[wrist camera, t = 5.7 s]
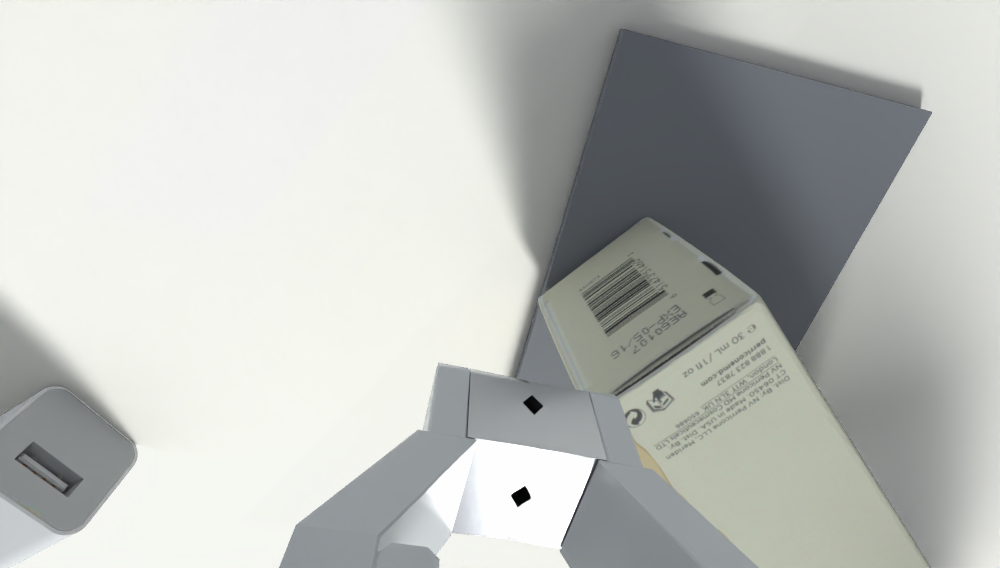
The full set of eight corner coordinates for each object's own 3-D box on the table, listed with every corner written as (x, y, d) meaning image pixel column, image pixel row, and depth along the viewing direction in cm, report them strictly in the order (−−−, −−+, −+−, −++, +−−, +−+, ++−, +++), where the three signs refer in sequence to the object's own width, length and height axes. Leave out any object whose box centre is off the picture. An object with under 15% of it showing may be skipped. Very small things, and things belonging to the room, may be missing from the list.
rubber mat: (511, 389, 19) (512, 396, 19) (620, 29, 14) (624, 29, 13) (740, 429, 20) (745, 437, 20) (921, 109, 15) (932, 112, 14)
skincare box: (580, 413, 11) (815, 680, 15) (770, 284, 10) (959, 602, 14) (532, 293, 16) (711, 511, 21) (650, 206, 16) (810, 449, 20)
